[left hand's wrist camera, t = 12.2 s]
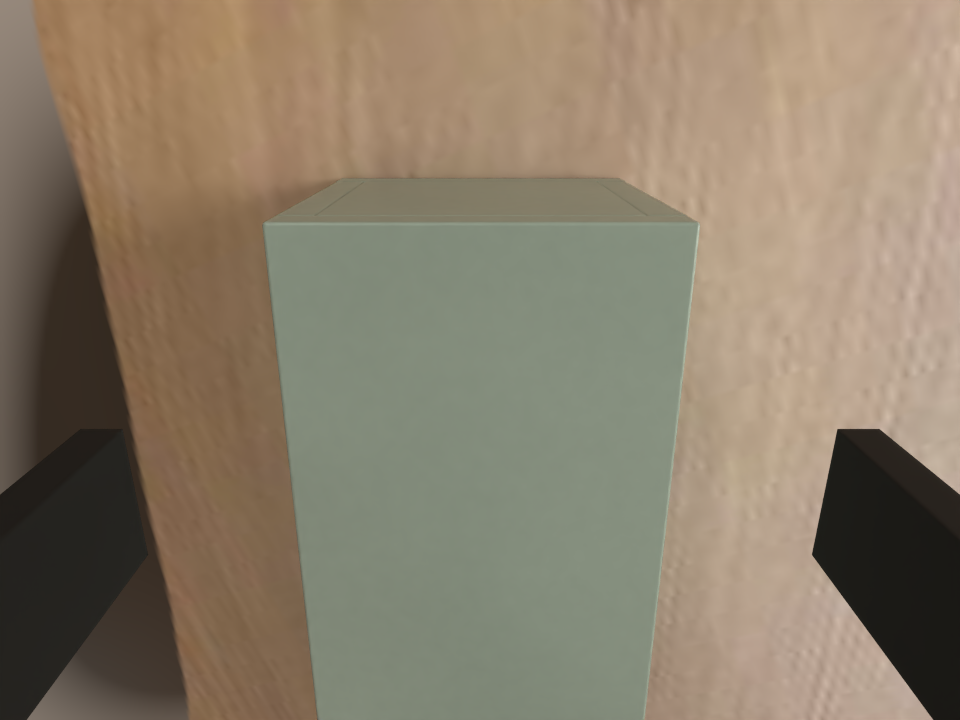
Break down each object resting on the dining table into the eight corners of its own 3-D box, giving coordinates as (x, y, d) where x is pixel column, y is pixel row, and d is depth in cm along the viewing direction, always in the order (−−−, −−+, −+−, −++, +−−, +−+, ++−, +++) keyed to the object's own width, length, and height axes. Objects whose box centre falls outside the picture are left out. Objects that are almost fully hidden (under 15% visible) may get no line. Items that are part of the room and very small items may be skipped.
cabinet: (589, 621, 33) (632, 829, 23) (372, 621, 33) (328, 829, 23) (620, 178, 25) (701, 222, 16) (341, 178, 25) (260, 222, 16)
